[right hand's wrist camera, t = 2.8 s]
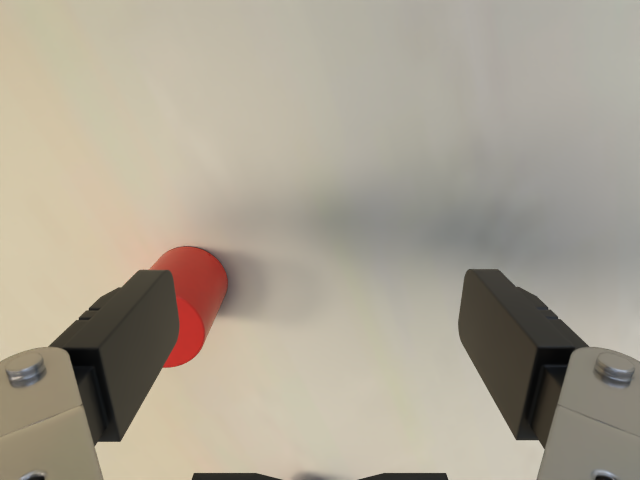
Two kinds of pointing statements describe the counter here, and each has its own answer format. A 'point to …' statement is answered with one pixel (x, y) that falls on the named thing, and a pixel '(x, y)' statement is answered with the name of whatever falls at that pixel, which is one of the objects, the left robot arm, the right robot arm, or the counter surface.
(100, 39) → the counter surface
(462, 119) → the counter surface
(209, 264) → the canister
